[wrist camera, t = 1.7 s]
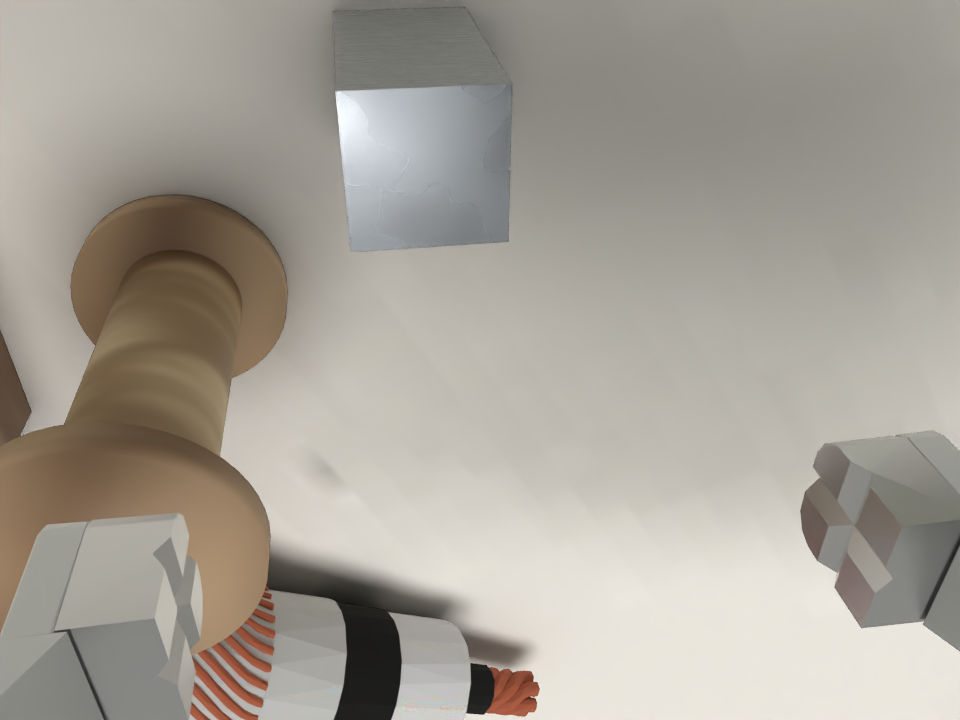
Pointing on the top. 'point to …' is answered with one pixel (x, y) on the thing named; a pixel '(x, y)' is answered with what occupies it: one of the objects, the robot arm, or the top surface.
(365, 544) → the top surface
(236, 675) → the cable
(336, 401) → the top surface
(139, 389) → the bobbin
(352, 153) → the block
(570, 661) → the top surface
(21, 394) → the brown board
